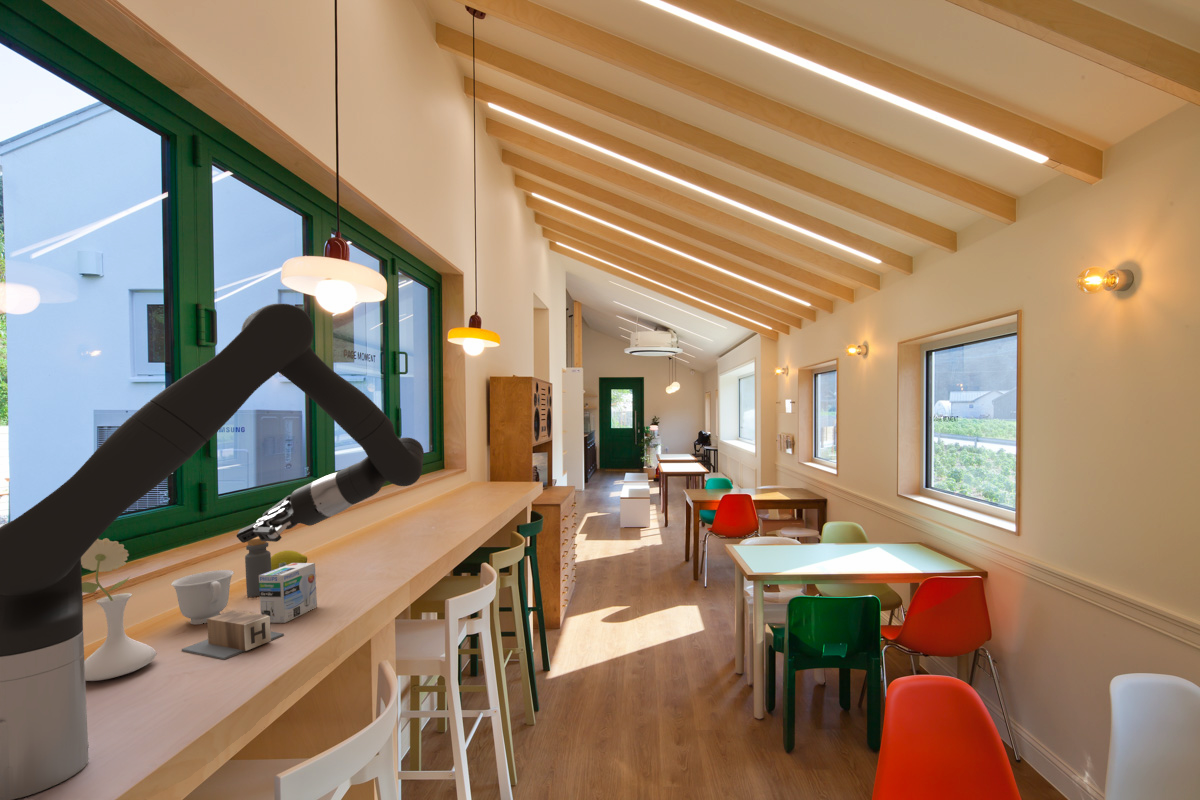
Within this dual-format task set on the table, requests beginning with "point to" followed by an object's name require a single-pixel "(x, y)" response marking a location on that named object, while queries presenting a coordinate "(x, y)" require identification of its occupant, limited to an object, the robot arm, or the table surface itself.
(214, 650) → the slate mat
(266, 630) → the walnut block
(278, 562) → the lemon
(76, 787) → the table surface
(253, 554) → the bottle
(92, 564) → the flower in vase
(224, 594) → the teacup
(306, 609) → the light bulb box
